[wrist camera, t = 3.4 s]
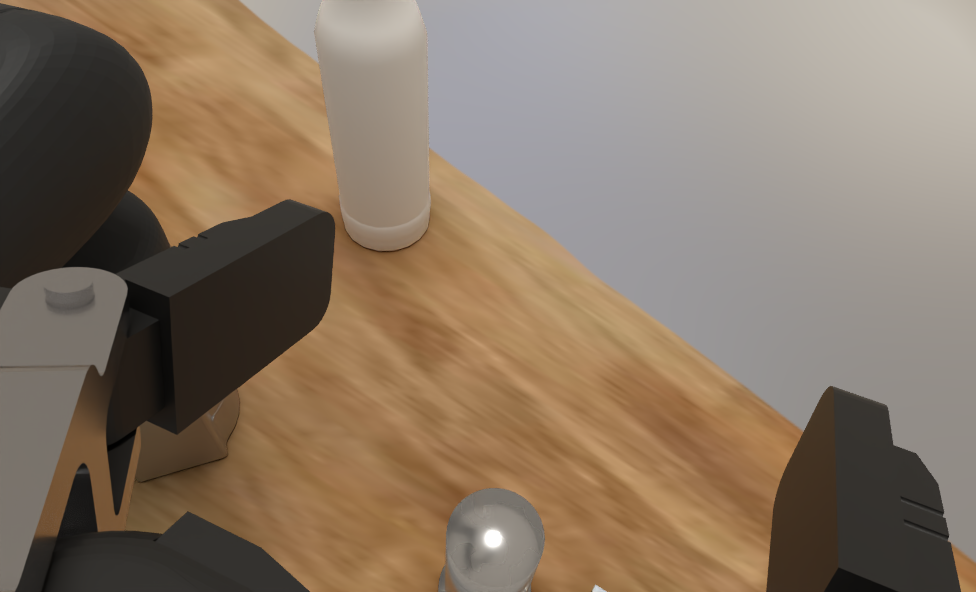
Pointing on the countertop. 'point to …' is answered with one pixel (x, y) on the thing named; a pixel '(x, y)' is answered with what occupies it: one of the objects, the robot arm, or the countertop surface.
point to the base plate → (597, 589)
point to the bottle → (377, 116)
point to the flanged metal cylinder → (492, 544)
